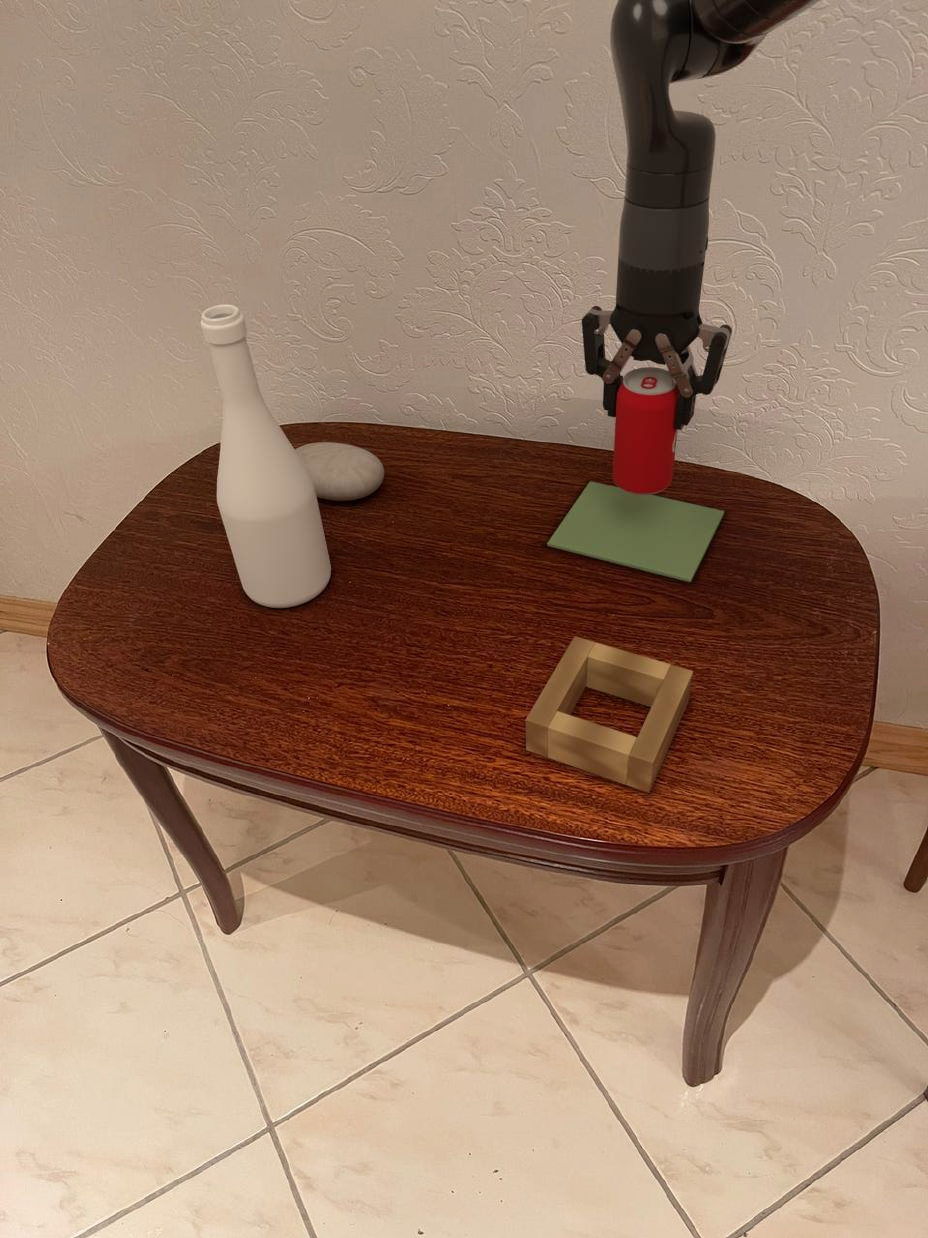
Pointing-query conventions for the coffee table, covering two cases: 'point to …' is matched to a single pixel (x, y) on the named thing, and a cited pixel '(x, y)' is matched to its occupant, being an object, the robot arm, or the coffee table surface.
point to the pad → (638, 531)
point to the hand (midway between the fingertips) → (647, 419)
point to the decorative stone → (341, 470)
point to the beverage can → (645, 431)
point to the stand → (597, 744)
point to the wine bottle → (262, 481)
